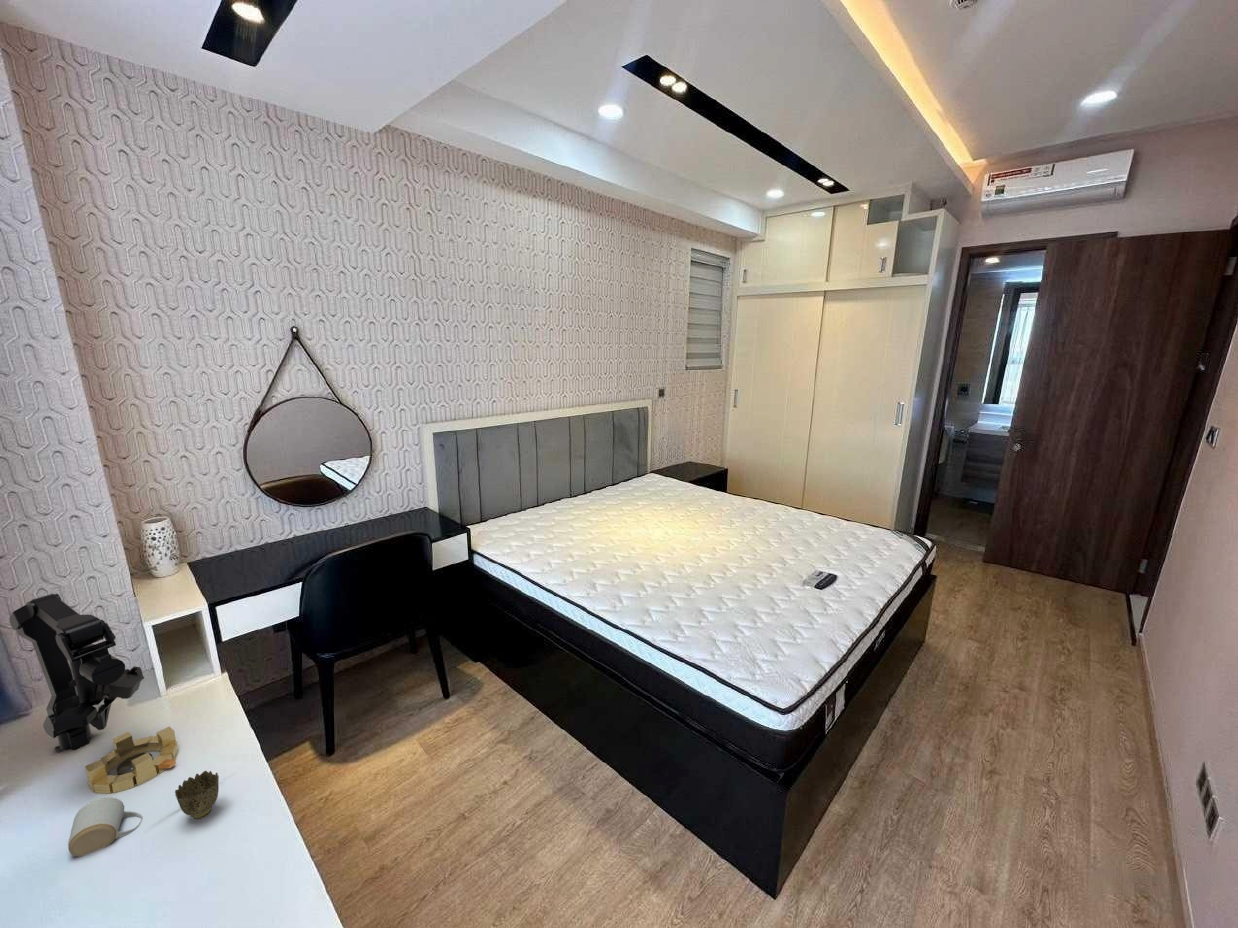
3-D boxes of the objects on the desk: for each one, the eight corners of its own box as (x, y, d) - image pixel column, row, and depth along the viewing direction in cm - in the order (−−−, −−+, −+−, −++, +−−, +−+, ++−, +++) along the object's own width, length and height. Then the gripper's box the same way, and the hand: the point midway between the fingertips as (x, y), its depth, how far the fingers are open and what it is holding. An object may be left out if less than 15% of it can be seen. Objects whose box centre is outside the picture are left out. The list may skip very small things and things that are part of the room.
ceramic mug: (69, 868, 101) (62, 835, 100) (77, 838, 108) (71, 807, 106) (141, 839, 108) (136, 808, 106) (145, 812, 114) (140, 783, 113)
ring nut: (103, 806, 114) (99, 786, 113) (80, 774, 122) (76, 755, 121) (189, 760, 127) (186, 742, 126) (163, 735, 135) (159, 717, 134)
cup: (231, 805, 116) (226, 775, 114) (195, 833, 109) (190, 802, 107) (208, 796, 118) (203, 766, 117) (172, 822, 111) (166, 791, 110)
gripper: (107, 689, 113) (119, 750, 116) (154, 645, 130) (163, 698, 134) (43, 698, 110) (57, 760, 113) (99, 651, 127) (111, 706, 130)
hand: (102, 728), depth 123 cm, fingers closed
